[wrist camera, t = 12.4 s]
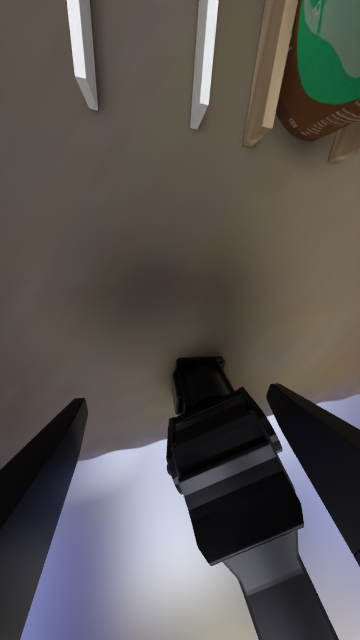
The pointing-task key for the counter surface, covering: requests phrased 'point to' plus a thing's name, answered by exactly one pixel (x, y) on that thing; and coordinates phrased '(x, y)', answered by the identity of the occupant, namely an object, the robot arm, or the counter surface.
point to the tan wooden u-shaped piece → (269, 81)
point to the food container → (322, 69)
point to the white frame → (86, 66)
